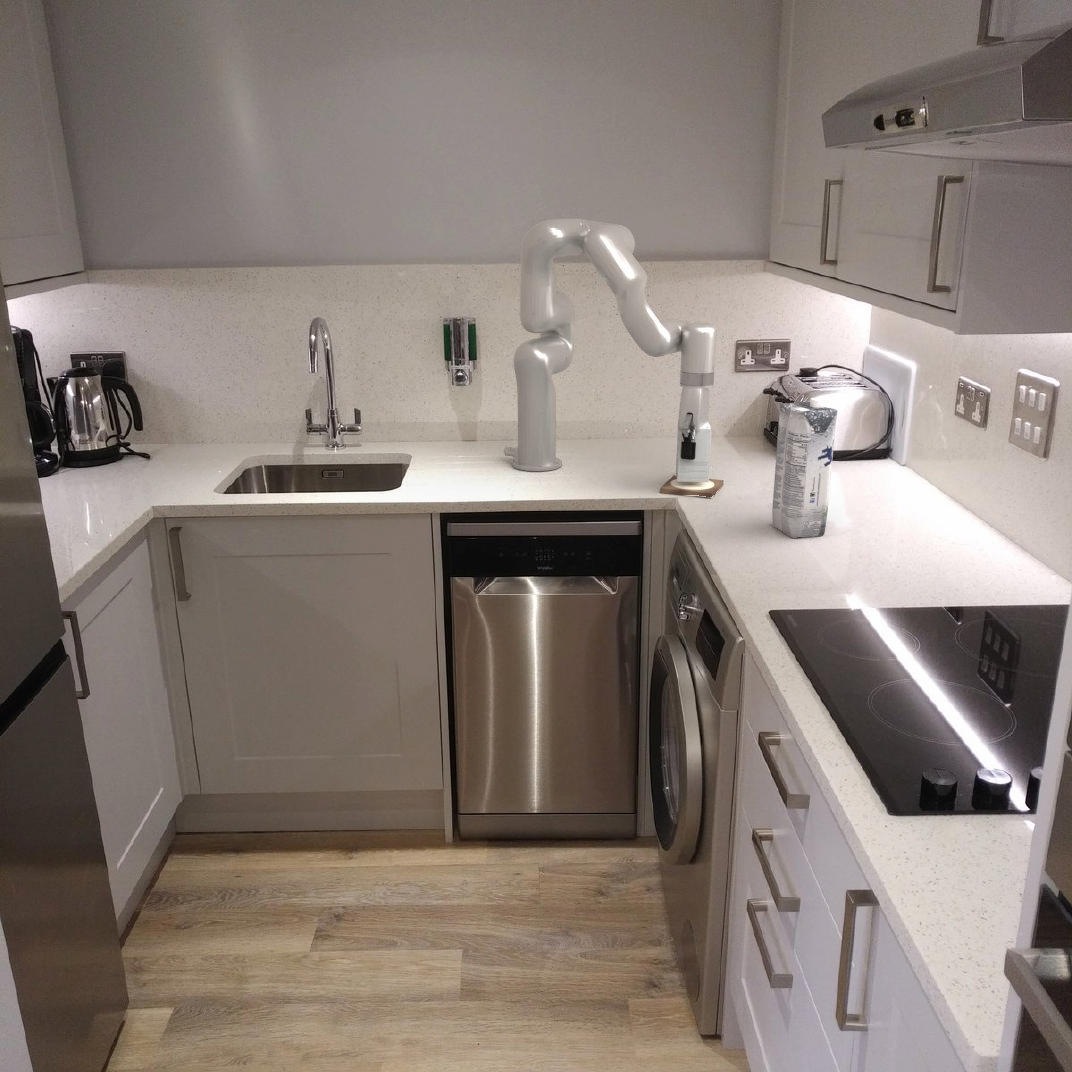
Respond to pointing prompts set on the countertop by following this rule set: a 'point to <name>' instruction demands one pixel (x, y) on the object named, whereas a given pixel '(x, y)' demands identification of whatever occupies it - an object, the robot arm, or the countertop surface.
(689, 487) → the board
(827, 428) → the juice carton
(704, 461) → the supplement box
